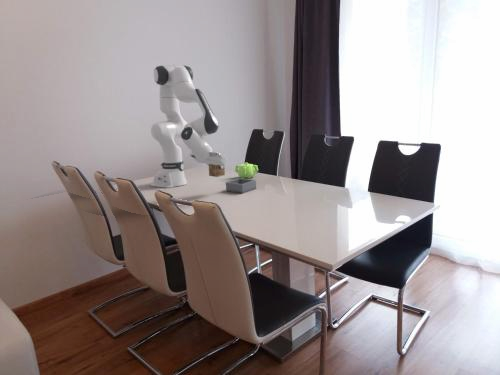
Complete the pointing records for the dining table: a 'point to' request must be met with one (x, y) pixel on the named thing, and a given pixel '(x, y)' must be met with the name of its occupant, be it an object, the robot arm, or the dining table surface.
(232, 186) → the charcoal crate
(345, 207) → the dining table surface
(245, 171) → the teapot
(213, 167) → the walnut crate
